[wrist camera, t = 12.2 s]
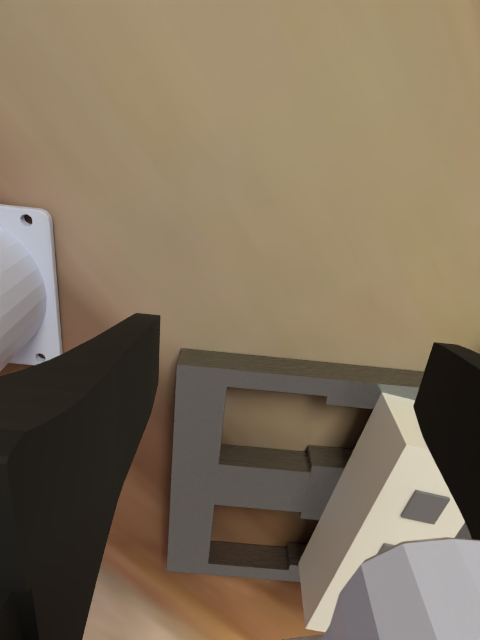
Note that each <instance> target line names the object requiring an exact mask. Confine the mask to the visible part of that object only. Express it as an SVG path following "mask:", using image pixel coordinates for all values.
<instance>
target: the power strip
mask: <svg viewBox="0 0 480 640" xmlns="http://www.w3.org/2000/svg"><path fill="white" fill-rule="evenodd" d="M414 402H415V400H411V399H407V398H403V397H399V396H395V395H391V394H387V393H383V392H382V393H381V395H380V397H379V399H378V401H377V403H376V405H375V407H374V409H373V411H372V413H371V415H370V417H369V419H368V422H367V424H366V426H365V428H364V430H363V432H362V434H361V436H360V438H359V440H358V442H357V444H356V446H355V448H354V450H353V452H352V454H351V456H350V458H349V460H348V463H347V465H346V467H345V469H344V471H343V473H342V475H341V477H340V479H339V481H338V483H337V485H336V487H335V489H334V491H333V493H332V495H331V497H330V499H329V501H328V504H327V506H326V508H325V510H324V512H323V514H322V516H321V518H320V520H319V522H318V524H317V526H316V528H315V530H314V532H313V534H312V536H311V538H310V540H309V543H308V545H307V547H306V549H305V551H304V553H303V555H302V557H301V559H300V561H299V563H298V565H299V574H300V583H301V592H302V601H303V610H304V619H305V628H306V629H311V630H316V631H322V632H326V631H327V629H328V627H329V625H330V623H331V619H332V616H333V613H334V609H335V606H336V603H337V600H338V596H339V593H340V592H341V590H342V589H343V588H344V586H345V585H346V584H347V582H348V581H349V580H350V578H351V577H352V576H353V574H354V573H355V571H356V570H357V569H358V567H359V566H360V565H361V564H362V563H363V562H364V561H365V560H366V559H368V558H370V557H372V556H374V555H376V554H378V553H380V552H382V551H384V550H386V549H388V548H390V547H392V546H394V545H396V544H398V543H401V542H403V541H413V540H424V539H434V538H444V537H450V538H455V536H456V535H457V533H458V532H459V530H460V529H461V527H462V526H463V524H464V523H465V521H464V519H463V517H462V514H461V512H460V510H459V508H458V506H457V504H456V502H455V500H454V498H453V496H452V495H451V493H450V491H449V489H448V487H447V485H446V483H445V481H444V479H443V477H442V475H441V473H440V471H439V469H438V467H437V465H436V463H435V461H434V459H433V457H432V455H431V453H430V451H429V449H428V447H427V445H426V443H425V441H424V439H423V436H422V433H421V430H420V427H419V424H418V421H417V418H416V414H415V411H414V407H413V405H414Z"/></svg>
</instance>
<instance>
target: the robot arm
mask: <svg viewBox="0 0 480 640" xmlns="http://www.w3.org/2000/svg"><path fill="white" fill-rule="evenodd" d="M25 214H27V215H29V216H30V217H31V218H32V224H29V223H27V222H26V221H25V218H24V216H25ZM159 342H160V315H151V314H141V313H136V314H134V315H132V316H130V317H128V318H126V319H125V320H123V321H121V322H120V323H118V324H117V325H115V326H113V327H112V328H110V329H108V330H106V331H105V332H103V333H101V334H100V335H98V336H96V337H94V338H93V339H91V340H89V341H87V342H85V343H83V344H81V345H79V346H77V347H75V348H73V349H71V350H69V351H67V352H66V353H63V352H62V339H61V326H60V313H59V300H58V287H57V274H56V261H55V248H54V235H53V222H52V217H51V215H50V214H49V213H48V212H47V211H46V210H44V209H41V208H32V207H22V206H13V205H3V204H0V371H1V370H2V369H3V368H4V367H5V366H6V365H7V364H8V363H15V364H26V365H34V366H32V367H29V368H26V369H24V370H21V371H17V372H14V373H11V374H7V375H4V376H1V377H0V640H82V638H83V634H84V630H85V626H86V621H87V617H88V613H89V609H90V605H91V601H92V597H93V593H94V589H95V585H96V581H97V577H98V573H99V569H100V565H101V561H102V557H103V554H104V550H105V546H106V542H107V538H108V534H109V531H110V527H111V523H112V520H113V516H114V512H115V509H116V505H117V501H118V498H119V495H120V492H121V489H122V486H123V483H124V481H125V478H126V476H127V473H128V471H129V468H130V466H131V463H132V461H133V458H134V455H135V453H136V450H137V448H138V445H139V443H140V440H141V438H142V435H143V433H144V430H145V428H146V425H147V422H148V420H149V417H150V414H151V411H152V407H153V403H154V399H155V395H156V390H157V386H158V376H159ZM39 353H40V354H43V355H44V356H45V359H44V358H41V357H40V356H39ZM413 407H414V411H415V414H416V418H417V421H418V424H419V427H420V430H421V433H422V436H423V439H424V441H425V443H426V445H427V447H428V449H429V451H430V453H431V455H432V457H433V459H434V461H435V463H436V465H437V467H438V469H439V471H440V473H441V475H442V477H443V479H444V481H445V483H446V485H447V487H448V489H449V491H450V493H451V495H452V496H453V498H454V500H455V502H456V504H457V506H458V508H459V510H460V512H461V514H462V517H463V519H464V521H465V523H466V525H467V528H468V530H469V532H470V535H471V538H472V539H462V538H450V537H444V538H434V539H424V540H413V541H403V542H401V543H398V544H396V545H394V546H392V547H390V548H388V549H386V550H384V551H382V552H380V553H378V554H376V555H374V556H372V557H370V558H368V559H366V560H365V561H364V562H363V563H362V564H361V565H360V566H359V567H358V569H357V570H356V571H355V573H354V574H353V576H352V577H351V578H350V580H349V581H348V582H347V584H346V585H345V586H344V588H343V589H342V590H341V592H340V593H339V596H338V600H337V603H336V606H335V609H334V613H333V616H332V619H331V623H330V625H329V627H328V629H327V631H326V633H325V634H321V635H313V636H305V637H298V638H290V639H283V640H480V354H478V353H476V352H474V351H472V350H469V349H467V348H465V347H462V346H459V345H455V344H445V343H435V342H434V344H433V347H432V350H431V353H430V356H429V359H428V362H427V365H426V368H425V371H424V375H423V378H422V381H421V384H420V387H419V390H418V393H417V396H416V399H415V402H414V405H413Z"/></svg>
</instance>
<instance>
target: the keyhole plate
mask: <svg viewBox="0 0 480 640" xmlns="http://www.w3.org/2000/svg"><path fill="white" fill-rule="evenodd" d="M423 375H424V372H421V371H411V370H400V369H390V368H380V367H369V366H359V365H348V364H338V363H328V362H317V361H307V360H297V359H286V358H276V357H266V356H255V355H245V354H235V353H224V352H214V351H203V350H193V349H183V348H181V351H180V355H179V358H178V362H177V371H176V391H175V412H174V432H173V453H172V474H171V494H170V515H169V535H168V556H167V571H171V572H184V573H196V574H208V575H220V576H232V577H245V578H257V579H269V580H281V581H294V582H300V574H299V565H298V563H299V561H300V559H301V557H302V555H303V553H304V551H305V549H306V547H307V545H308V544H304V543H292V542H288V543H287V547H275V546H264V545H252V544H240V543H228V542H216V541H210V540H211V531H212V521H213V512H214V505H223V506H235V507H246V508H258V509H269V510H281V511H292V512H299V513H300V519H311V520H320V518H321V516H322V514H323V512H324V510H325V508H326V506H327V504H328V501H329V499H330V497H331V495H332V493H333V491H334V489H335V487H336V485H337V483H338V481H339V479H340V477H341V475H342V473H343V471H344V469H345V467H346V465H347V463H348V460H349V458H350V456H351V454H352V452H353V450H354V449H343V448H332V447H321V446H310V445H308V450H307V452H300V451H289V450H278V449H267V448H256V447H245V446H233V445H222V444H221V437H222V427H223V418H224V408H225V399H226V390H227V387H234V388H245V389H256V390H266V391H277V392H287V393H298V394H309V395H319V396H324V400H325V404H326V405H336V406H346V407H357V408H368V409H374V407H375V405H376V403H377V401H378V399H379V397H380V395H381V393H382V392H383V393H387V394H391V395H395V396H399V397H403V398H407V399H411V400H415V399H416V396H417V393H418V390H419V387H420V384H421V381H422V378H423ZM455 538H462V539H472V538H471V535H470V532H469V530H468V528H467V525H466V523H464V524H463V526H462V527H461V529H460V530H459V532H458V533H457V535H456V536H455Z"/></svg>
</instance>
